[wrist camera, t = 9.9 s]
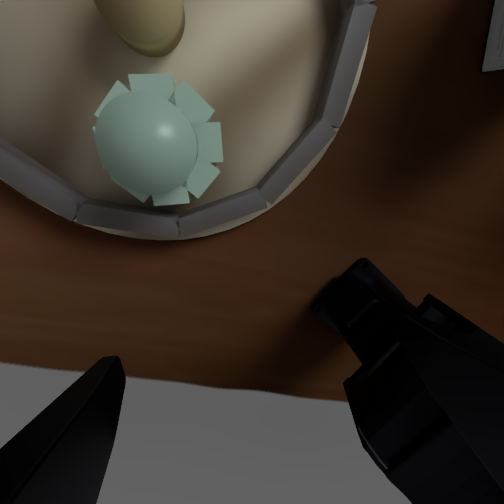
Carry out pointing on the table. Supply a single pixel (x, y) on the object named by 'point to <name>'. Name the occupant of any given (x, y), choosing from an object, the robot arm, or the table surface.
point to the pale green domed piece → (158, 139)
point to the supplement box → (495, 40)
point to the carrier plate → (181, 67)
